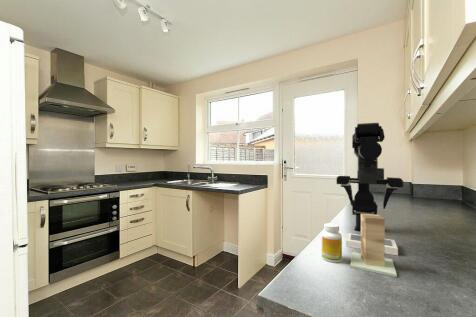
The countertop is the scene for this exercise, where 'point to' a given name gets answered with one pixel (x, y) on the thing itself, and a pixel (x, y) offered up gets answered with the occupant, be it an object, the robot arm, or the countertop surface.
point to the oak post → (373, 239)
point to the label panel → (355, 242)
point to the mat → (359, 264)
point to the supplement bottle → (331, 243)
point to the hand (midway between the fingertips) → (367, 207)
